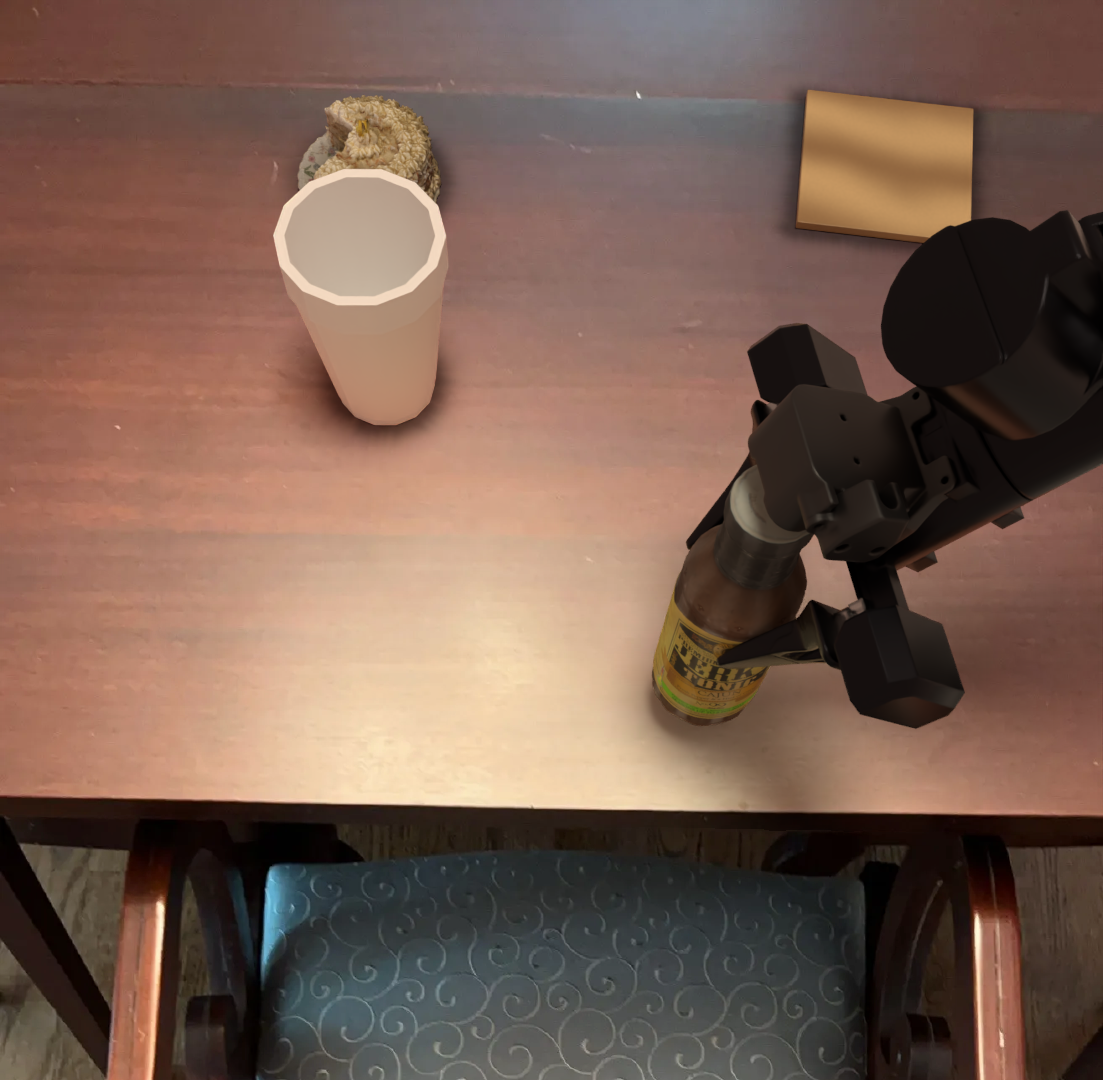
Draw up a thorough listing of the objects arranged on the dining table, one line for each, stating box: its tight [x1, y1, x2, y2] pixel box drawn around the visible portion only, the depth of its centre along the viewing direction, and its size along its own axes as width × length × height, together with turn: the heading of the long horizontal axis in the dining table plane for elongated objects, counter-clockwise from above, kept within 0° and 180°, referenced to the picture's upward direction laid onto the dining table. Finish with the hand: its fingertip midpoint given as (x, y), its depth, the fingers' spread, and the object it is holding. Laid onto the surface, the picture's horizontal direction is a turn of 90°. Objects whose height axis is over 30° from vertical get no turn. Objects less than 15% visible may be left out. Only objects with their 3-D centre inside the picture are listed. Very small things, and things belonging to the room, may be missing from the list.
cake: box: [296, 94, 442, 204], centre depth 79 cm, size 10×10×5 cm
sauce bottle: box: [651, 465, 815, 727], centre depth 59 cm, size 6×6×20 cm
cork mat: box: [795, 89, 974, 244], centre depth 83 cm, size 12×12×1 cm
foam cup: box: [272, 169, 450, 426], centre depth 71 cm, size 10×9×13 cm
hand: (706, 604), depth 58 cm, fingers closed on sauce bottle, 6 cm apart
